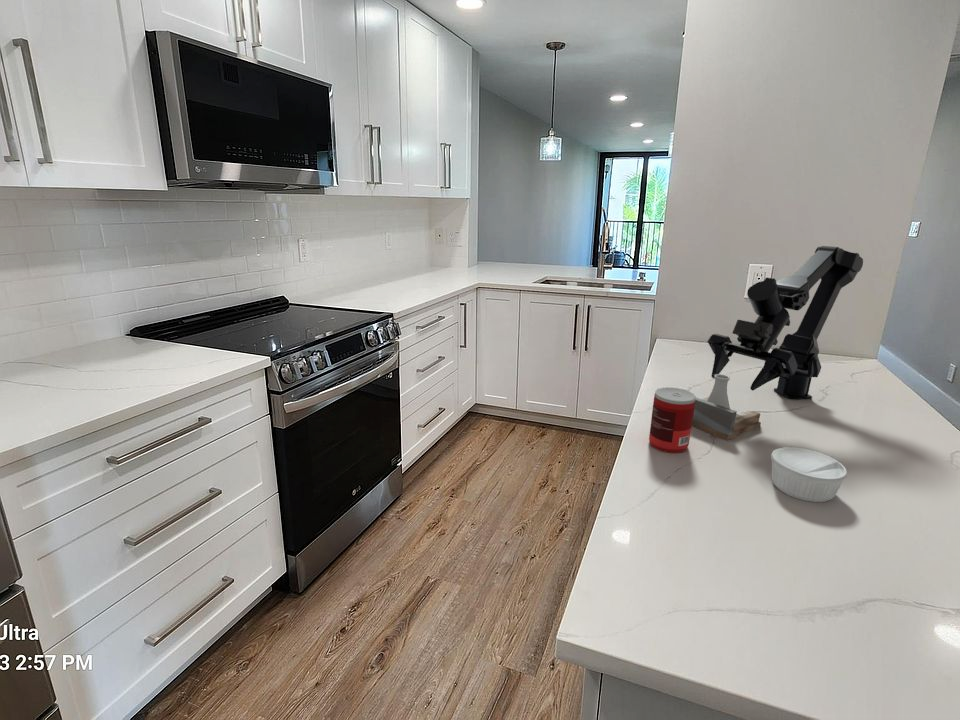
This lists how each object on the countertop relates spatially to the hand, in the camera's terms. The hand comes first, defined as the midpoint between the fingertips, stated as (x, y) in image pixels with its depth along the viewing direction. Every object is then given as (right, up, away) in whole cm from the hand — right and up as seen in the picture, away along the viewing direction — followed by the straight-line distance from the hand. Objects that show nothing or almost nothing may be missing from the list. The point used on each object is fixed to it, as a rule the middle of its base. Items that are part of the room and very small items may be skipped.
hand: (731, 383), depth 119 cm
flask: (-4, -8, 0) cm, 9 cm away
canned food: (-18, -12, -11) cm, 24 cm away
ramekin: (0, -17, -26) cm, 31 cm away
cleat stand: (-3, -9, +1) cm, 9 cm away
